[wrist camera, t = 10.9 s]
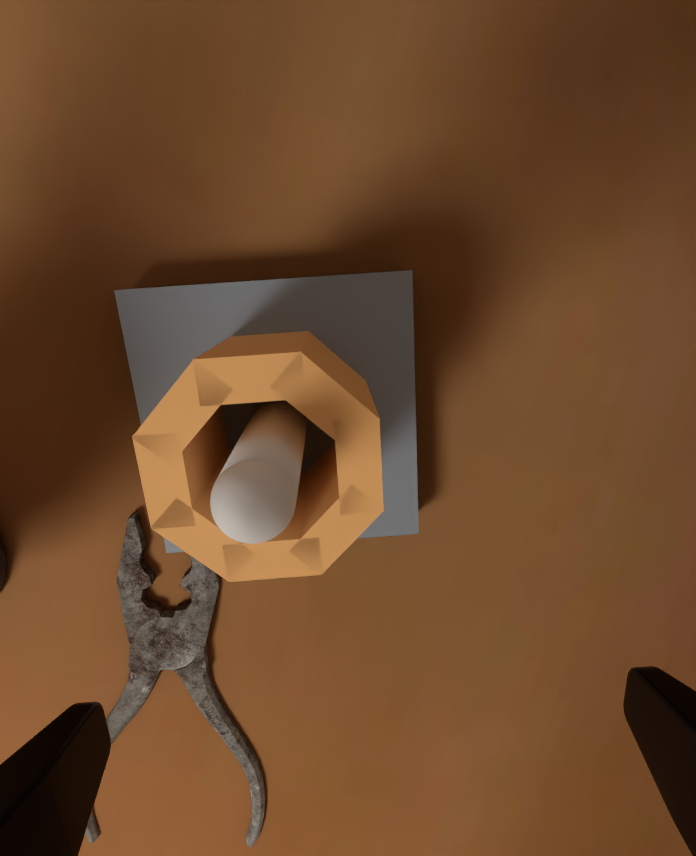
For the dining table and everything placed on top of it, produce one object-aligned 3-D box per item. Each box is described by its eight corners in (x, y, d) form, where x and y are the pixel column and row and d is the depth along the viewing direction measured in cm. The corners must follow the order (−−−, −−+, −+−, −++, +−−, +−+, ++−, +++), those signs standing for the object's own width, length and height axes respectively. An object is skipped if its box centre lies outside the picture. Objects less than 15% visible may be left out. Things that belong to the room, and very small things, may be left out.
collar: (362, 326, 17) (376, 345, 12) (372, 495, 19) (386, 570, 14) (176, 339, 17) (116, 363, 12) (205, 508, 19) (162, 587, 14)
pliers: (93, 868, 26) (-35, 536, 20) (101, 850, 27) (-20, 526, 21) (275, 848, 26) (202, 510, 20) (276, 830, 27) (207, 500, 21)
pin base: (405, 270, 18) (478, 263, 9) (412, 515, 21) (472, 684, 12) (131, 289, 18) (-58, 299, 9) (177, 533, 21) (69, 718, 12)
